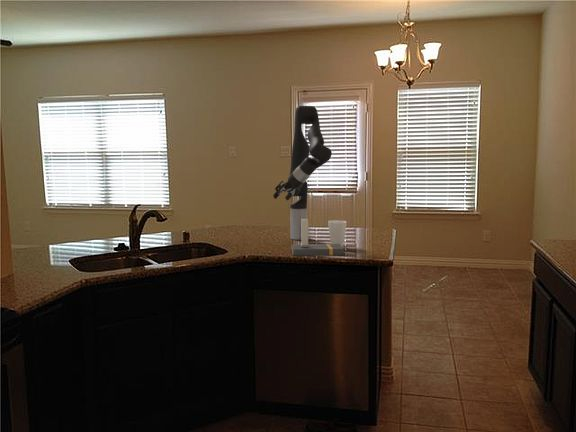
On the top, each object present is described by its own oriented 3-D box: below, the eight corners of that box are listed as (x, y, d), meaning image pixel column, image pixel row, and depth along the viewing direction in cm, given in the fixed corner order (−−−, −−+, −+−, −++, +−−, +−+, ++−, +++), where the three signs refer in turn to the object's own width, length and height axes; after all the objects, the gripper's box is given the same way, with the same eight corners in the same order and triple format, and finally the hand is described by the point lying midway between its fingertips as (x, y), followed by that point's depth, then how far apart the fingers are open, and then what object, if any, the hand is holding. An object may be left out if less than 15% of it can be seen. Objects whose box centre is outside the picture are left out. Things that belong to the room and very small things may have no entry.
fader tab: (301, 247, 226) (301, 220, 224) (300, 245, 230) (300, 218, 229) (308, 246, 226) (308, 220, 225) (308, 245, 231) (308, 218, 229)
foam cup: (348, 245, 247) (348, 220, 246) (344, 248, 239) (344, 223, 237) (330, 244, 250) (330, 220, 249) (325, 247, 242) (326, 222, 240)
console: (293, 255, 222) (293, 249, 222) (291, 250, 234) (291, 244, 234) (343, 255, 224) (343, 248, 223) (339, 250, 236) (339, 243, 235)
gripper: (305, 172, 237) (286, 194, 245) (286, 168, 227) (267, 191, 235) (312, 183, 233) (293, 205, 241) (292, 180, 223) (273, 202, 231)
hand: (280, 198), depth 238 cm, fingers open, 8 cm apart
